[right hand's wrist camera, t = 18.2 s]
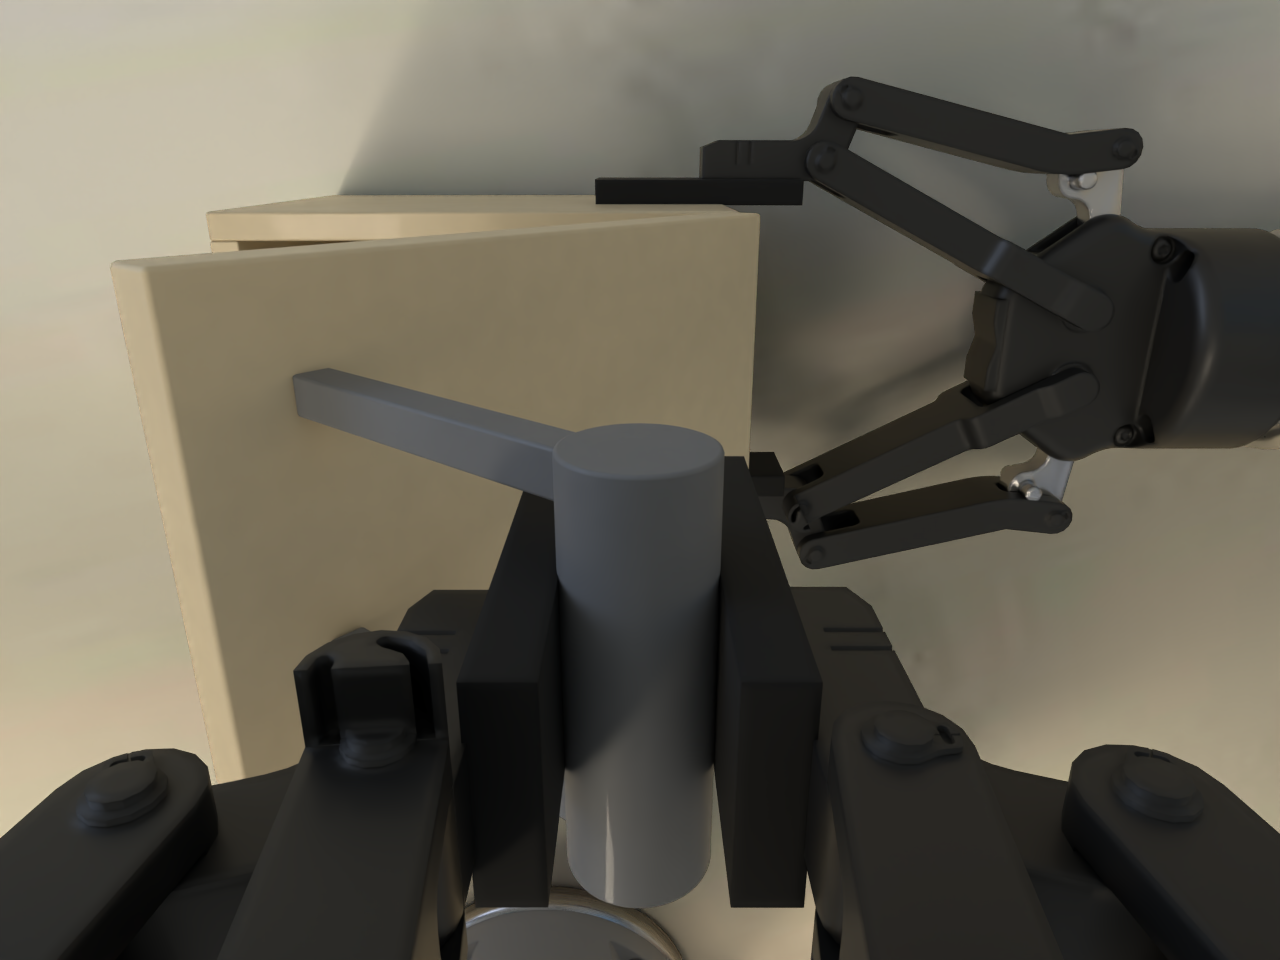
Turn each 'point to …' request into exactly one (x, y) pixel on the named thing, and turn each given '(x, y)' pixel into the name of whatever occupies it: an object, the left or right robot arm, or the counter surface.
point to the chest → (414, 217)
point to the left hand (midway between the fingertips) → (599, 340)
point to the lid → (463, 481)
